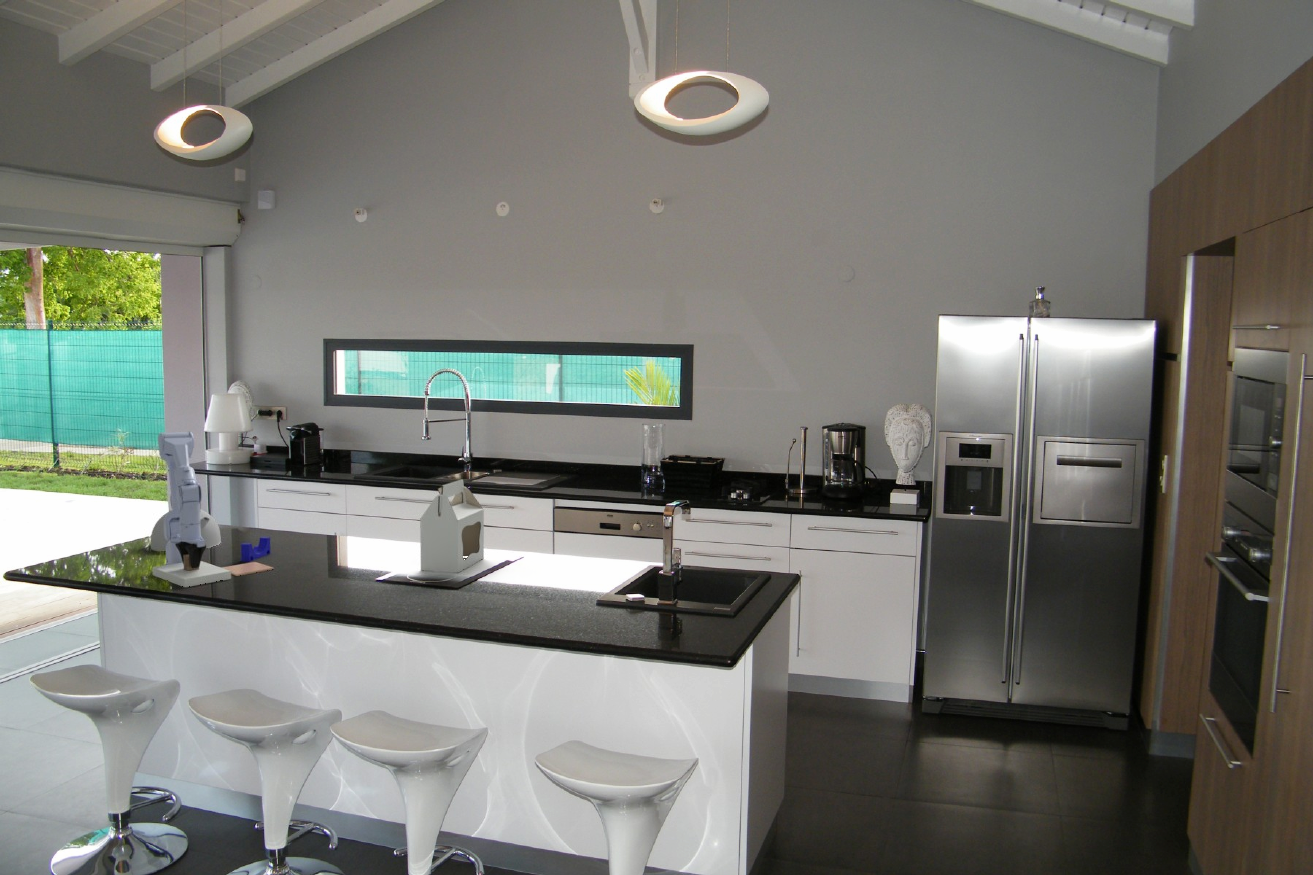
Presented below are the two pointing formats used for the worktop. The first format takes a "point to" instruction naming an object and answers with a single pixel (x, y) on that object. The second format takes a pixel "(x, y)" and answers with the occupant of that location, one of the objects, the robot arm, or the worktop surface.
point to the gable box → (452, 530)
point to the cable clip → (255, 549)
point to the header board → (191, 574)
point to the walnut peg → (188, 563)
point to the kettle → (207, 528)
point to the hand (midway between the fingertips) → (191, 566)
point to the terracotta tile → (247, 568)
